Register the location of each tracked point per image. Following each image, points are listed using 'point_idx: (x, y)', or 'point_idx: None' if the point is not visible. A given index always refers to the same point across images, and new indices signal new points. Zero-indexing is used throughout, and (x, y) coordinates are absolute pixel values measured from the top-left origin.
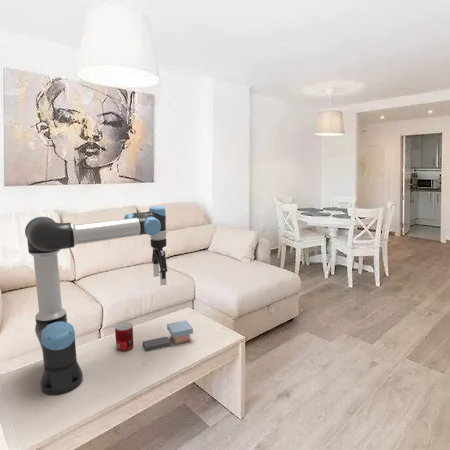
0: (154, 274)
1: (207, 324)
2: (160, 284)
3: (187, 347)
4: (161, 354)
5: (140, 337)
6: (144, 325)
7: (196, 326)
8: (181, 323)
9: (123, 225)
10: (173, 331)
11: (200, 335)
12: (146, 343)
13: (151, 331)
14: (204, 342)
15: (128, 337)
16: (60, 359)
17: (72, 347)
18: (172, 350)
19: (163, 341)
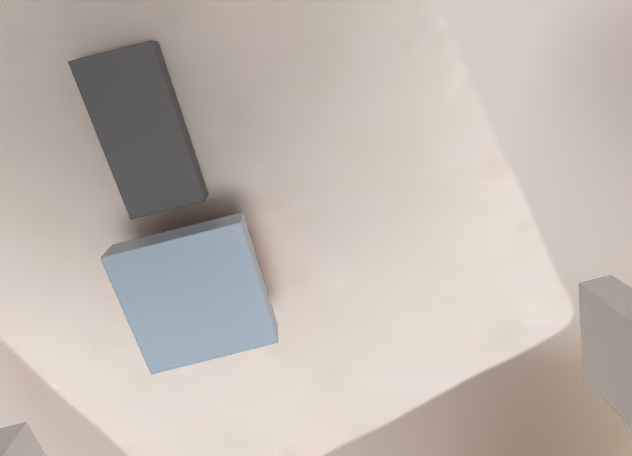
0: (615, 322)
1: (352, 403)
2: (14, 432)
3: (115, 296)
4: (44, 159)
5: (267, 23)
6: (433, 47)
7: (342, 352)
8: (233, 313)
9: None
10: (120, 262)
11: (237, 364)
12: (122, 68)
13: (336, 97)
14: (160, 376)
15: None
16: None
17: None
18: (87, 220)
19: (141, 178)
